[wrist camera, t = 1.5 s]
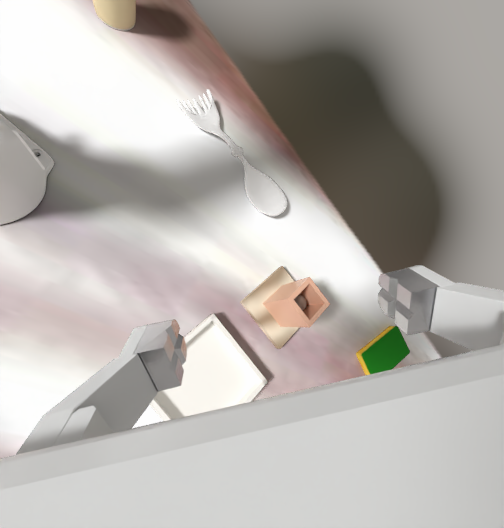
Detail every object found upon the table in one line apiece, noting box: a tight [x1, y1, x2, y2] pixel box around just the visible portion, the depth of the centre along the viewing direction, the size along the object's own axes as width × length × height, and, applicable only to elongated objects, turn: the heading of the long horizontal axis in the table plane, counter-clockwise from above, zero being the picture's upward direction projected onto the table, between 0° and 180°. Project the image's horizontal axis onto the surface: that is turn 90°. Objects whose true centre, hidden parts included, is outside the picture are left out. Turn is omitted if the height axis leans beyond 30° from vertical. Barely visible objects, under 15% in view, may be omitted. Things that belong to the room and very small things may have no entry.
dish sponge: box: [356, 326, 410, 375], centre depth 58 cm, size 7×14×2 cm, turn 117°
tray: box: [150, 314, 268, 421], centre depth 41 cm, size 16×16×2 cm
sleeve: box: [263, 277, 330, 327], centre depth 45 cm, size 6×6×10 cm
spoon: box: [177, 89, 287, 216], centre depth 54 cm, size 9×32×4 cm, turn 43°
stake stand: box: [240, 266, 307, 349], centre depth 47 cm, size 12×12×8 cm
